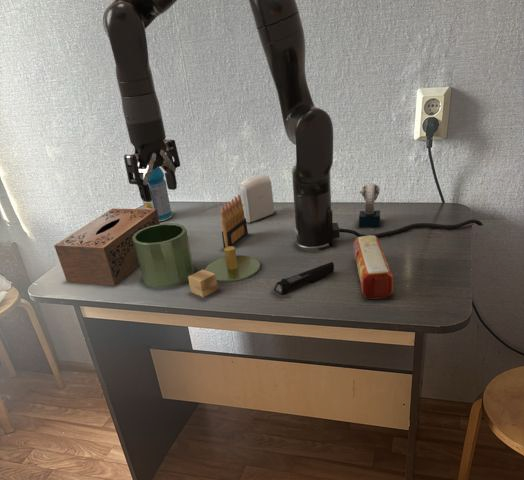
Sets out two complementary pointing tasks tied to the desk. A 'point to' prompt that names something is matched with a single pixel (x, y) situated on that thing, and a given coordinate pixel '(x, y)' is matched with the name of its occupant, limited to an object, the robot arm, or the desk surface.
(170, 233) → the canister
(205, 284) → the block
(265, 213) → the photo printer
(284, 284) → the electric trimmer
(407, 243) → the desk surface
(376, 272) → the snack package
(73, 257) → the tissue box cover
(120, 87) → the robot arm
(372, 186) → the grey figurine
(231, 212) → the ammunition clip
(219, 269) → the lid
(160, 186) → the beverage bottle
